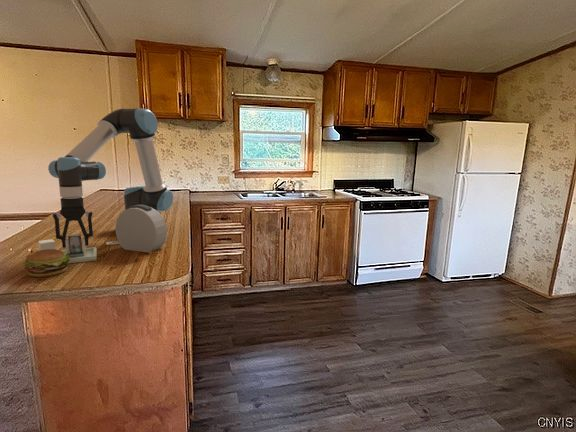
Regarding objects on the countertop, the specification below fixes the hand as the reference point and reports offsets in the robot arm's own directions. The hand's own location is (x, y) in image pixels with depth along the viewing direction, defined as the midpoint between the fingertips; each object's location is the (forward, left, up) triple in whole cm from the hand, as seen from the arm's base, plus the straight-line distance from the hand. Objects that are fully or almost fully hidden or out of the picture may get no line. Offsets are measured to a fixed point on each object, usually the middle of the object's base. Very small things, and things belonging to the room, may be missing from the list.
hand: (76, 254), depth 140 cm
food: (+8, +15, -2) cm, 17 cm away
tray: (0, 0, -1) cm, 1 cm away
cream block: (+11, -12, -2) cm, 16 cm away
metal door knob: (0, 0, 0) cm, 0 cm away
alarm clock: (-25, -4, -2) cm, 25 cm away
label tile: (-14, -18, -1) cm, 23 cm away
